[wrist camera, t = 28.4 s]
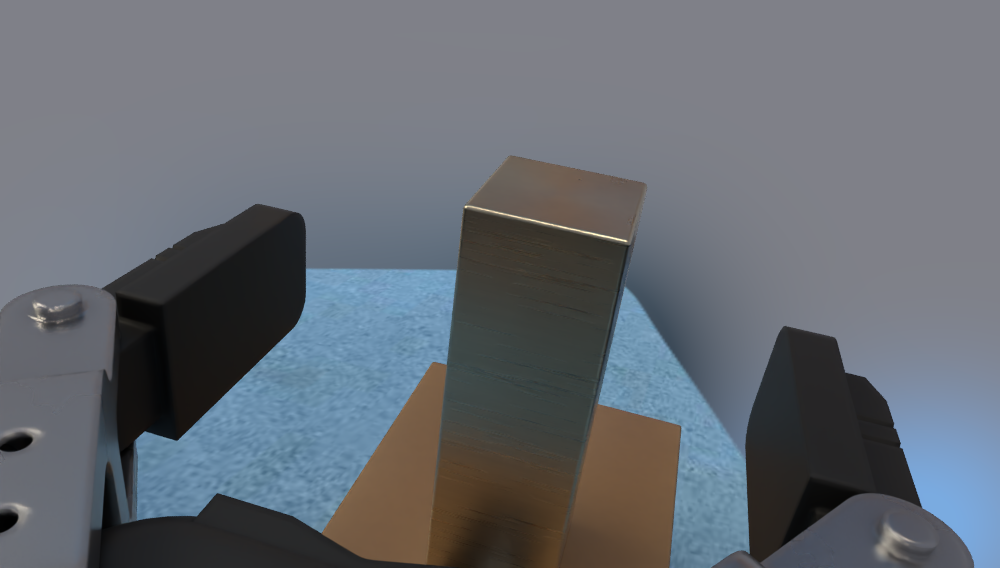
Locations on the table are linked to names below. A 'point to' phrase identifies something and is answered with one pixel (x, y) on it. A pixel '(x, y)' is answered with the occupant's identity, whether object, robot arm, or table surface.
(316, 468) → the table surface
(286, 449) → the table surface
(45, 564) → the robot arm
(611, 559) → the knife block
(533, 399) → the knife
